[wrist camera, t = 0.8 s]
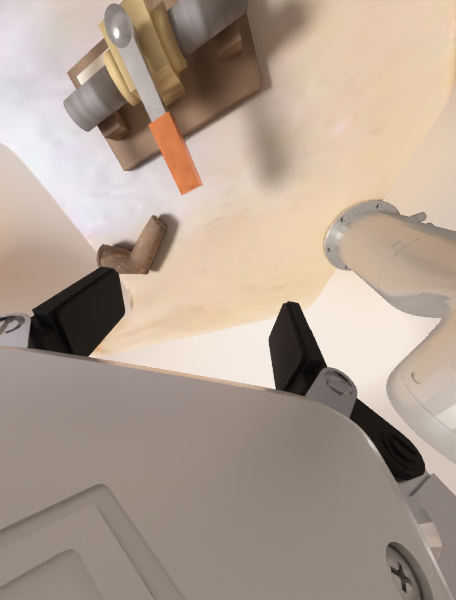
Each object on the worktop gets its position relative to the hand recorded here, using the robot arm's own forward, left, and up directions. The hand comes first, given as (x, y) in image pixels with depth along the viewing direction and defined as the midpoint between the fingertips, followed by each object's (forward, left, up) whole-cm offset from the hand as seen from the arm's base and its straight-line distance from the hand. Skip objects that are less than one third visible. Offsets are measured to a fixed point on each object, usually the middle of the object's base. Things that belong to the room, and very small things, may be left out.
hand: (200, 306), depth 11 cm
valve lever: (+2, -14, -19) cm, 24 cm away
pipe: (+21, -3, -30) cm, 37 cm away
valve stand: (+2, -20, -29) cm, 35 cm away
